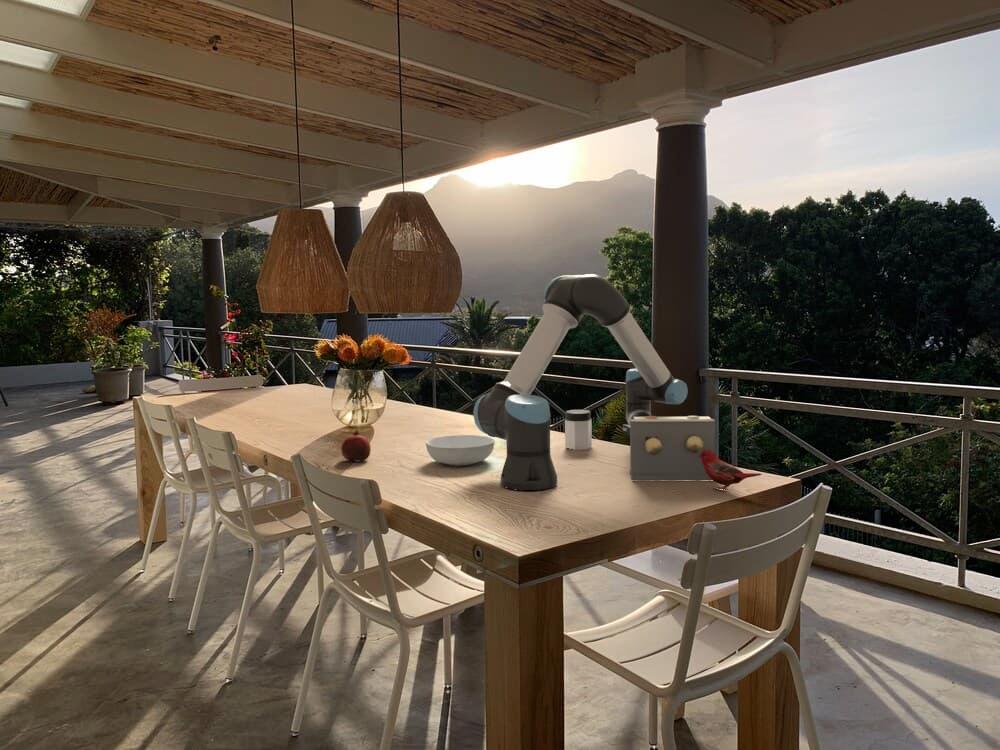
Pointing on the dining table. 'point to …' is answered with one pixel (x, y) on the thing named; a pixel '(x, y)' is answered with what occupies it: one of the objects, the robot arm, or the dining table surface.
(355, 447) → the fruit
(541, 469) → the robot arm
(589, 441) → the jar
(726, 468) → the decorative bird figurine
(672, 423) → the console
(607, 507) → the dining table surface
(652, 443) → the brass knob
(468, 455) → the serving bowl
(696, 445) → the knob
